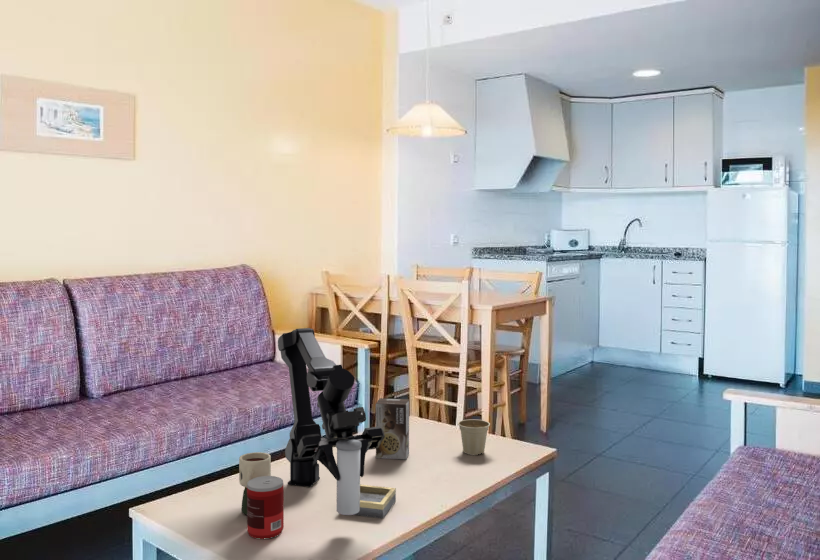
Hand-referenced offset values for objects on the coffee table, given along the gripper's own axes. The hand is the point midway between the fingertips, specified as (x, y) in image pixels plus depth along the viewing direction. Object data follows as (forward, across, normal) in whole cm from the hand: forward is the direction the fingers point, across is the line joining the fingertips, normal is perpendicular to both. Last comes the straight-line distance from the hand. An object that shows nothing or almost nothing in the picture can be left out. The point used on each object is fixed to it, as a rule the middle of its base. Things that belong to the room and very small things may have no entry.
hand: (350, 478), depth 150 cm
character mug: (-5, -16, +23) cm, 28 cm away
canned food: (+3, -16, +15) cm, 22 cm away
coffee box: (-22, +30, +41) cm, 55 cm away
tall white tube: (+4, 0, +6) cm, 8 cm away
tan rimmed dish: (0, +9, +17) cm, 20 cm away
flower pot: (-18, +53, +36) cm, 66 cm away
